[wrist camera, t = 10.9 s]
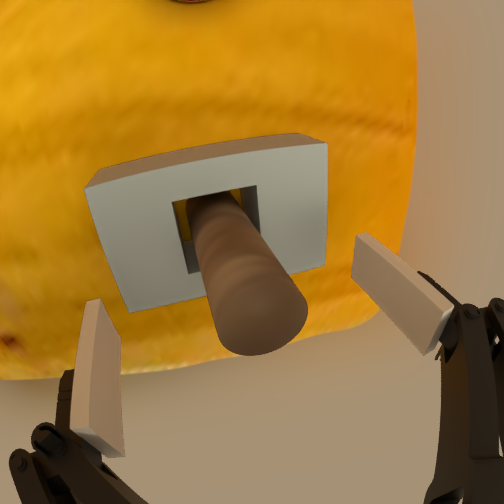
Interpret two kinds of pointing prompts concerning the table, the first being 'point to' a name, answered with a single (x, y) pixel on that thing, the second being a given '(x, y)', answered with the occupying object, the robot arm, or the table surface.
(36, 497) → the robot arm
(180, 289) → the socket block
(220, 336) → the peg
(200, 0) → the soda can
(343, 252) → the table surface
